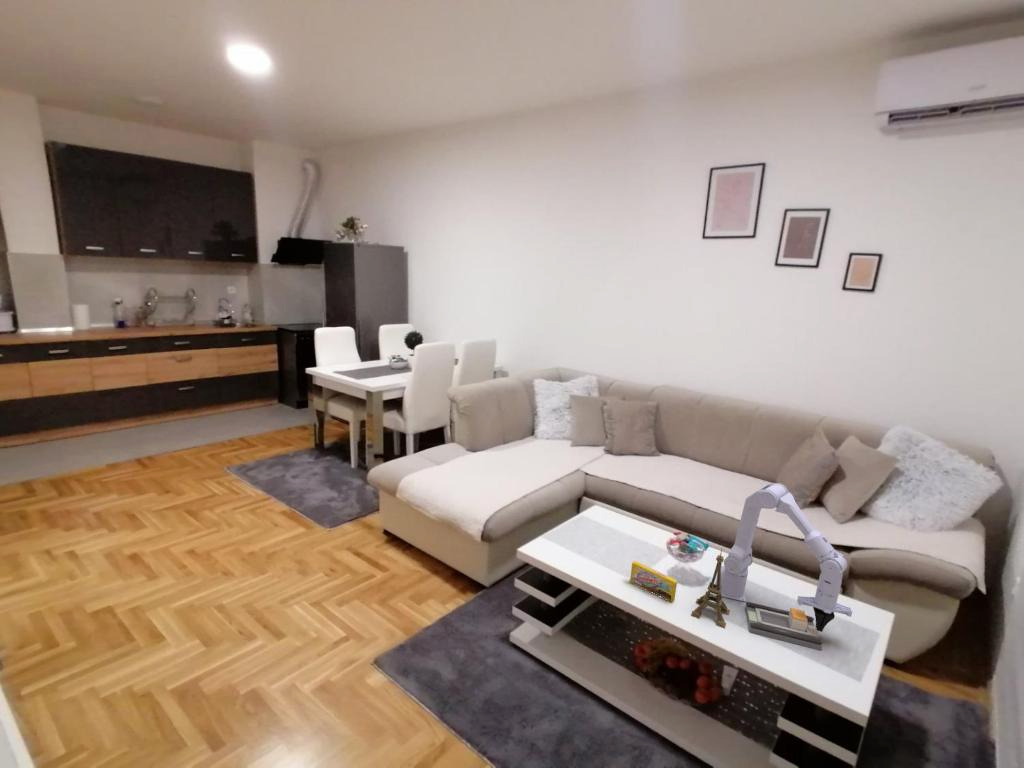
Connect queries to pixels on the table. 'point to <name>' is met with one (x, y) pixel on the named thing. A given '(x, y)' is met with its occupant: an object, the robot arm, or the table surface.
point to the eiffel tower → (713, 597)
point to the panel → (780, 626)
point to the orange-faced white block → (797, 619)
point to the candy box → (653, 581)
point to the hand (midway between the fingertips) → (818, 629)
